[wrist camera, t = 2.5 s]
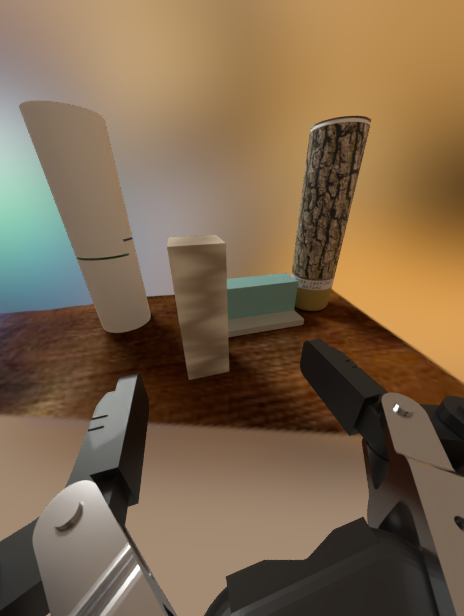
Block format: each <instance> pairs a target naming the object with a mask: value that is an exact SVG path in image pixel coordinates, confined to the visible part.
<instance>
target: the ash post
mask: <svg viewBox="0 0 464 616" xmlns="http://www.w3.org/2000/svg"><path fill="white" fill-rule="evenodd" d="M167 249H168V255H169V261H170V267H171V274H172V279H173V286H174V292H175V299H176V305H177V311H178V317H179V323H180V329H181V336H182V342H183V348H184V354H185V360H186V367H187V373H188V379H189V380H192V379H196V378H201V377H206V376H211V375H216V374H221V373H226V372H229V345H228V308H227V271H226V243H225V242H224V241H222V240H221V239H220V238H219V237H217V236H216V235H206V236H189V237H169V238H168V244H167Z"/></svg>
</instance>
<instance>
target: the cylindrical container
mask: <svg viewBox="0 0 464 616" xmlns="http://www.w3.org/2000/svg"><path fill="white" fill-rule="evenodd" d="M19 108H20V110H21V113H22V116H23V118H24V121H25V124H26V126H27V129H28V132H29V134H30V137H31V139H32V142H33V144H34V147H35V150H36V152H37V155H38V158H39V160H40V163H41V166H42V168H43V171H44V174H45V176H46V179H47V182H48V184H49V187H50V190H51V192H52V195H53V197H54V200H55V203H56V205H57V208H58V211H59V213H60V216H61V219H62V221H63V224H64V226H65V229H66V232H67V234H68V237H69V240H70V242H71V245H72V247H73V250H74V253H75V255H76V257H77V261H78V263H79V266H80V269H81V271H82V274H83V276H84V279H85V282H86V284H87V287H88V290H89V292H90V295H91V298H92V300H93V303H94V306H95V308H96V311H97V314H98V316H99V319H100V322H101V324H102V327H103V329H104V330H105V331H107V332H112V333H122V332H128V331H131V330H134V329H137V328H139V327H141V326H143V325H145V324H146V323H147V322H148V321H149V320H150V318H151V314H150V310H149V305H148V301H147V297H146V293H145V289H144V284H143V281H142V276H141V272H140V267H139V263H138V259H137V255H136V250H135V246H134V242H133V238H132V233H131V230H130V225H129V221H128V216H127V213H126V208H125V204H124V200H123V195H122V191H121V187H120V183H119V179H118V174H117V170H116V166H115V161H114V157H113V153H112V149H111V144H110V140H109V136H108V132H107V127H106V123H105V120H104V118H103V117H102V116H100V115H99V114H97V113H95V112H93V111H91V110H88V109H85V108H82V107H78V106H75V105H70V104H65V103H59V102H52V101H28V102H24V103H21V104H20V106H19Z"/></svg>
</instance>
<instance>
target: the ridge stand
mask: <svg viewBox="0 0 464 616" xmlns="http://www.w3.org/2000/svg"><path fill="white" fill-rule="evenodd" d="M297 287H298V281H297V280H296V279H294V278H293V277H291V276H289V275H288V274H286V273H282V274H272V275H263V276H253V277H244V278H234V279H227V308H228V337H233V336H239V335H245V334H251V333H257V332H263V331H269V330H275V329H281V328H287V327H293V326H299V325H303V324H304V319H303V318H302V317H301V316H300V315H299V314H298V313H297V312H296V311H295V310H294V307H295V300H296V294H297Z"/></svg>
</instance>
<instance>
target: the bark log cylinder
mask: <svg viewBox="0 0 464 616" xmlns="http://www.w3.org/2000/svg"><path fill="white" fill-rule="evenodd" d="M370 122H371V119H370V118H368V117H364V116H345V117H338V118H332V119H328V120H325V121H322V122H319V123H317V124H315V125H314V126H312V127H311V132H310V137H309V145H308V152H307V160H306V168H305V175H304V183H303V190H302V198H301V206H300V213H299V221H298V229H297V236H296V244H295V251H294V259H293V267H292V274H291V277H293V278H294V279H296V280H297V281H298V287H297V294H296V300H295V308H298V309H300V310H304V311H319V310H322V309H324V308H325V307H326V306H327V304H328V301H329V296H330V292H331V288H332V284H333V280H334V276H335V272H336V267H337V263H338V259H339V255H340V251H341V246H342V242H343V238H344V234H345V229H346V225H347V221H348V217H349V213H350V208H351V204H352V200H353V195H354V192H355V187H356V183H357V179H358V174H359V170H360V166H361V162H362V158H363V153H364V149H365V145H366V141H367V136H368V132H369V128H370Z"/></svg>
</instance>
